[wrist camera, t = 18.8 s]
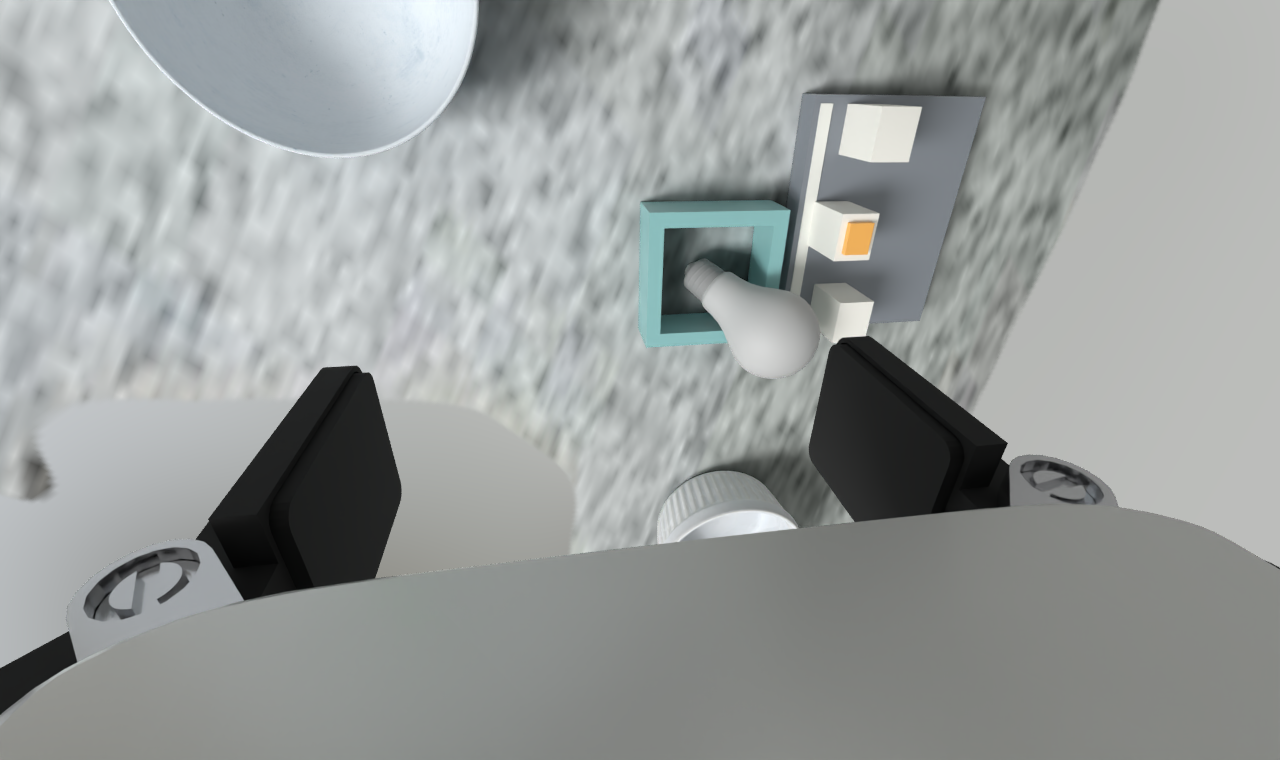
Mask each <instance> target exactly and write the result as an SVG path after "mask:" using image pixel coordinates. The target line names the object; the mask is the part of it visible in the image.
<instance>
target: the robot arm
mask: <svg viewBox="0 0 1280 760" xmlns="http://www.w3.org/2000/svg"><path fill="white" fill-rule="evenodd" d="M1007 444H1008V443H1007V442H1006V441H1004V440H1003V439H1002V438H1000V437H999V436H998V435H997V434H995V433H994V432H993V431H991V430H990V429H989V428H987V427H986V426H985V425H984V424H982V423H981V422H980V421H979V420H977V419H976V418H975V417H973V416H972V415H971V414H970V413H968V412H967V411H966V410H964V409H963V408H962V407H961V406H959V405H958V404H957V403H955V402H954V401H953V400H951V399H950V398H949V397H948V396H946V395H945V394H944V393H942V392H941V391H940V390H939V389H937V388H936V387H935V386H933V385H932V384H931V383H930V382H928V381H927V380H926V379H924V378H923V377H922V376H921V375H919V374H918V373H917V372H915V371H914V370H913V369H912V368H910V367H909V366H908V365H906V364H905V363H904V362H903V361H901V360H900V359H899V358H897V357H896V356H895V355H894V354H892V353H891V352H890V351H888V350H887V349H886V348H884V347H883V346H882V345H881V344H879V343H878V342H877V341H875V340H874V339H873V338H871V337H869V336H861V337H844V338H841V339H840V340H839V341H838V343H837V345H833V346H832V347H831V348H830V351H829V355H828V359H827V364H826V369H825V374H824V378H823V383H822V388H821V392H820V397H819V402H818V406H817V411H816V416H815V420H814V425H813V430H812V434H811V439H810V444H809V455H810V458H811V461H812V463H813V464H814V465H815V467H816V468H817V470H818V471H819V472H820V474H821V475H822V477H823V478H824V479H825V481H826V482H827V484H828V485H829V486H830V488H831V489H832V491H833V492H834V493H835V495H836V496H837V498H838V499H839V501H840V502H841V503H842V505H843V506H844V508H845V509H846V510H847V512H848V513H849V515H850V516H851V517H852V519H853V520H854V522H852V523H842V524H833V525H824V526H815V527H806V528H797V529H787V530H778V531H769V532H760V533H751V534H742V535H734V536H725V537H716V538H707V539H699V540H690V541H682V542H673V543H664V544H656V545H647V546H639V547H630V548H622V549H613V550H605V551H596V552H588V553H580V554H571V555H563V556H555V557H547V558H539V559H530V560H523V561H514V562H506V563H498V564H490V565H482V566H473V567H465V568H457V569H449V570H441V571H433V572H424V573H416V574H407V575H399V576H391V577H383V578H375V577H376V574H377V571H378V568H379V564H380V562H381V559H382V556H383V553H384V549H385V547H386V544H387V540H388V537H389V534H390V531H391V528H392V525H393V522H394V519H395V516H396V513H397V510H398V507H399V504H400V500H401V482H400V478H399V474H398V471H397V467H396V464H395V459H394V456H393V452H392V448H391V444H390V440H389V437H388V433H387V429H386V426H385V421H384V418H383V414H382V410H381V406H380V403H379V399H378V395H377V391H376V387H375V384H374V380H373V377H372V375H371V374H370V373H362V371H361V370H360V368H359V367H358V366H343V367H326V368H322V369H321V370H320V371H319V373H318V374H317V375H316V377H315V378H314V379H313V381H312V382H311V383H310V385H309V386H308V387H307V389H306V390H305V391H304V393H303V394H302V395H301V397H300V398H299V399H298V401H297V402H296V403H295V405H294V406H293V407H292V409H291V410H290V411H289V413H288V414H287V415H286V417H285V418H284V419H283V421H282V422H281V423H280V425H279V426H278V427H277V429H276V430H275V431H274V433H273V434H272V435H271V437H270V438H269V439H268V441H267V442H266V443H265V445H264V446H263V447H262V449H261V450H260V451H259V452H258V454H257V455H256V456H255V458H254V459H253V461H252V462H251V463H250V465H249V466H248V467H247V469H246V470H245V471H244V472H243V474H242V475H241V476H240V478H239V479H238V480H237V482H236V483H235V484H234V486H233V487H232V488H231V490H230V491H229V492H228V494H227V495H226V496H225V498H224V499H223V500H222V502H221V503H220V505H219V506H218V507H217V508H216V510H215V511H214V512H213V514H212V515H211V516H210V518H209V519H208V520H209V522H208V524H207V525H206V526H205V528H204V529H203V530H202V532H201V533H200V534H199V536H198V537H197V538H196V540H194V539H175V540H169V541H166V542H161V543H156V544H152V545H150V546H147V547H144V548H142V549H139V550H137V551H134V552H132V553H130V554H128V555H126V556H124V557H122V558H120V559H118V560H116V561H114V562H113V563H111V564H109V565H108V566H106V567H105V568H103V569H102V570H101V571H99V572H98V573H96V574H95V575H94V576H92V577H91V578H90V579H89V580H88V581H87V582H86V583H85V584H84V585H83V586H82V587H81V588H80V589H79V590H78V591H77V592H76V593H75V595H74V596H73V598H72V600H71V601H70V603H69V605H68V606H67V615H66V621H67V625H68V629H69V631H68V632H67V633H65V634H63V635H61V636H59V637H57V638H56V639H54V640H52V641H50V642H48V643H46V644H44V645H43V646H41V647H39V648H37V649H35V650H33V651H31V652H30V653H28V654H26V655H24V656H22V657H20V658H19V659H17V660H15V661H13V662H11V663H9V664H7V665H6V666H4V667H2V668H0V760H1280V568H1279V567H1277V566H1275V565H1274V564H1272V563H1269V562H1267V561H1265V560H1263V559H1261V558H1259V557H1258V556H1256V555H1254V554H1253V553H1251V552H1249V551H1247V550H1246V549H1244V548H1242V547H1240V546H1239V545H1237V544H1236V543H1234V542H1232V541H1230V540H1228V539H1226V538H1225V537H1223V536H1221V535H1219V534H1217V533H1215V532H1213V531H1210V530H1208V529H1206V528H1204V527H1201V526H1198V525H1195V524H1192V523H1188V522H1185V521H1182V520H1178V519H1174V518H1170V517H1166V516H1162V515H1158V514H1154V513H1149V512H1143V511H1138V510H1132V509H1126V508H1120V507H1118V504H1117V500H1116V497H1115V496H1114V494H1113V492H1112V490H1111V489H1110V488H1109V487H1108V486H1107V485H1106V484H1105V483H1104V482H1103V481H1102V480H1101V479H1099V478H1098V477H1096V476H1095V475H1093V474H1091V473H1090V472H1088V471H1087V470H1085V469H1083V468H1081V467H1079V466H1076V465H1074V464H1072V463H1069V462H1066V461H1063V460H1060V459H1057V458H1053V457H1048V456H1043V455H1024V456H1018V457H1016V458H1015V459H1013V460H1012V461H1011V463H1010V465H1008V464H1007V463H1006V462H1005V461H1003V460H1002V459H1001V458H1002V455H1003V453H1004V450H1005V448H1006V446H1007Z"/></svg>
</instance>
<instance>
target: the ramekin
mask: <svg viewBox="0 0 1280 760" xmlns="http://www.w3.org/2000/svg"><path fill="white" fill-rule="evenodd" d="M657 525H658V527H657V539H658V544H664V543H673V542H682V541H690V540H699V539H707V538H716V537H725V536H734V535H742V534H751V533H760V532H769V531H778V530H787V529H797V528H799V527H798V525H797V523H796V521H795V520H794V519H793V517H792V516H791V515H790V514H789V513H788V512H787V511H786V510H784V509H783V507H782V506H781V505H780V503H779V502H778V501H777V499H776V498H775V497H774V496H773V494H772V493H771V492H770V491H769V490H768V489H767V487H766V486H765V485H764V484H762V483H761V482H760V481H759V480H757V479H755V478H754V477H752V476H750V475H747V474H745V473H740V472H735V471H714V472H708V473H705V474H701V475H699V476H696V477H694V478H692V479H690V480H688V481H686V482H685V483H683V484H682V485H681V486H679V487H678V488H677V489H676V490H675V491H674V492H673V493H672V494H671V495H670V496H669V498H668V499H667V500H666V502H665V504H664V506H663V507H662V509H661V512H660V514H659V519H658V524H657Z"/></svg>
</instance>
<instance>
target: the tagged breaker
mask: <svg viewBox="0 0 1280 760" xmlns="http://www.w3.org/2000/svg"><path fill="white" fill-rule="evenodd" d="M879 214H880V213H877V212H875V211H872V210H870V209H867V208H865V207H862V206H859V205H857V204H854V203H852V202H849V201H818V202H814V207H813V213H812V219H811V225H810V230H809V236H808V242H807V245H808V246H810V247H811V248H813V249H814V250H816V251H818V252H819V253H821V254H823V255H824V256H826V257H827V258H829V259H831V260H832V261H857V260H869V257H870V253H871V249H872V245H873V240H874V236H875V232H876V227H877V223H878V219H879Z"/></svg>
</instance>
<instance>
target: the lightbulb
mask: <svg viewBox="0 0 1280 760" xmlns="http://www.w3.org/2000/svg"><path fill="white" fill-rule="evenodd" d="M684 286H685V287H686V288H687V289H688V290H689V291H690V292H691V293H692V294H694V295H695V297H696V298H698V299H699V300H700V301H701V302H702V306H703V307H704V308H705V309H706V310H707V311H708V312H709V313H710V314H711V315H712V316H713V318H714V319H715V320H716V321H717V322H718V324H719V326H720V327H721V329H722V331H723V332H724V334H725V337H726V340H727V342H728V345H729V347H730V349H731V352H732V354H733V356H734V358H735V359H736V361H737V362H738V363H739V365H740V366H741V367H743V368H744V369H745V370H746V371H748V372H750V373H751V374H753V375H756V376H759V377H762V378H769V379H779V378H784V377H788V376H790V375H793V374H795V373H797V372H798V371H800V370H801V369H803V368H804V367H805V366H806V365H807V364H808V363H809V362H810V360H811V359H812V358H813V356H814V354H815V352H816V350H817V348H818V344H819V340H820V327H819V322H818V319H817V316H816V314H815V312H814V311H813V309H812V307H811V306H810V305H809V304H808V303H807V302H806V300H804V299H803V298H802V297H800V296H799V295H796V294H794V293H792V292H790V291H785V290H780V289H775V288H768V287H761V286H758V285H755V284H751V283H749V282H747V281H745V280H743V279H741V278H739V277H738V276H736V275H735V274H733V273H732V272H725V271H723V270H722V269H721V268H719V267H718V266H717V265H715V264H714V263H712V262H710V261H709V260H708V259H700V260H698V261H697V262H691V263H690V264H689V265H688V266H687V267H686V269H685V278H684Z"/></svg>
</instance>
